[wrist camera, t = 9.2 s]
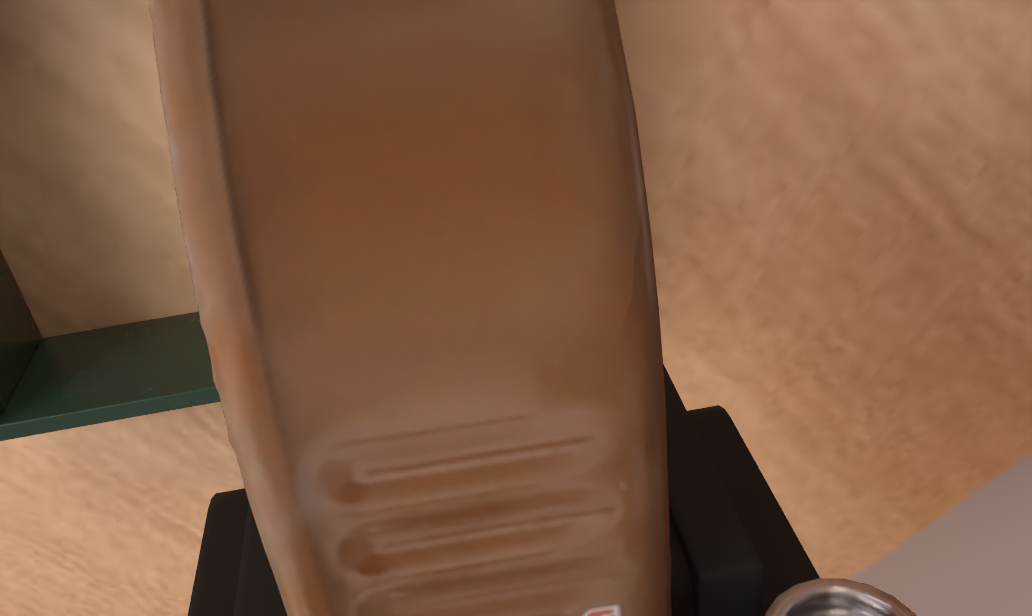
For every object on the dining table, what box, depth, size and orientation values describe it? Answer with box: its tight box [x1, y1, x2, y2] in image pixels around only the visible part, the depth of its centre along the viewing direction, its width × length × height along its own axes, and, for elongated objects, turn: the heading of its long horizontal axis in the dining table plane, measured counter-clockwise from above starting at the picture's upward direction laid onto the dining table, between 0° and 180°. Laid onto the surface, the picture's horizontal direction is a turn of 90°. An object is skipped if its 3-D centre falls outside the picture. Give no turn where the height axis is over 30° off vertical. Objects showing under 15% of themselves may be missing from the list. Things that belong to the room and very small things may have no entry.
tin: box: [149, 0, 672, 616], centre depth 11 cm, size 15×3×8 cm, turn 6°
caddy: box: [0, 251, 221, 441], centre depth 26 cm, size 18×18×5 cm
